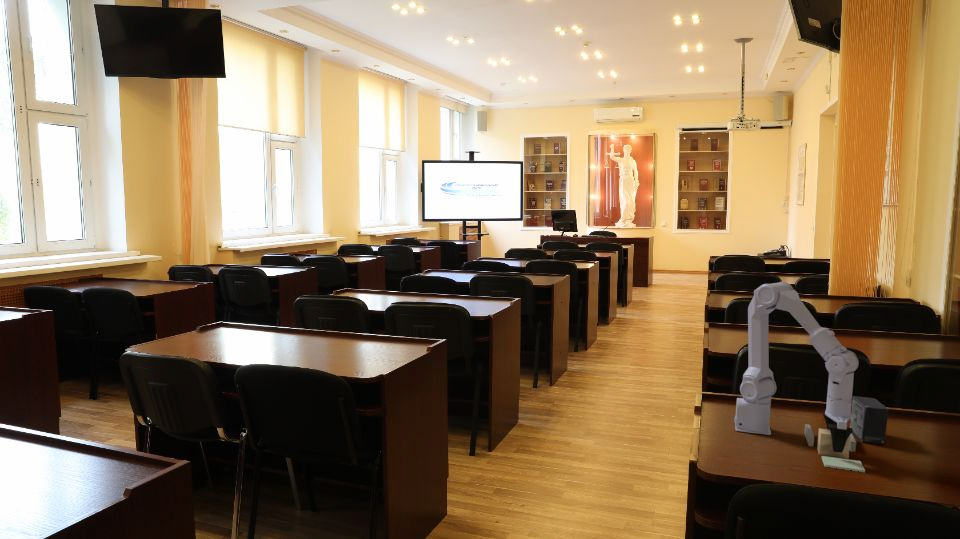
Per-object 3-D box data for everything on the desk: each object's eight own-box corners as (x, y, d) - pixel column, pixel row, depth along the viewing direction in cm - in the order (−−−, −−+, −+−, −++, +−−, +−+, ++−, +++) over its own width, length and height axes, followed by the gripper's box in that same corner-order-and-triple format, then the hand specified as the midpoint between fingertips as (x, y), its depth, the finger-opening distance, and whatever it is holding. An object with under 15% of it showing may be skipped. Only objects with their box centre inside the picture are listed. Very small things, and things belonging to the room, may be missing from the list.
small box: (886, 445, 184) (890, 408, 183) (861, 443, 185) (864, 406, 184) (872, 431, 194) (875, 397, 193) (848, 429, 196) (851, 395, 194)
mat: (824, 466, 169) (825, 464, 169) (821, 458, 174) (821, 455, 174) (864, 472, 166) (865, 470, 166) (860, 463, 171) (860, 461, 171)
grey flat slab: (808, 445, 182) (809, 436, 182) (804, 433, 192) (805, 424, 191) (855, 452, 179) (856, 442, 178) (848, 439, 188) (849, 429, 188)
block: (818, 454, 177) (820, 433, 176) (817, 449, 180) (818, 428, 180) (848, 458, 174) (850, 437, 174) (846, 453, 178) (847, 431, 177)
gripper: (862, 407, 166) (857, 458, 168) (851, 391, 180) (847, 439, 181) (830, 403, 169) (826, 454, 170) (822, 388, 182) (818, 435, 184)
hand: (835, 446), depth 176 cm, fingers open, 7 cm apart
